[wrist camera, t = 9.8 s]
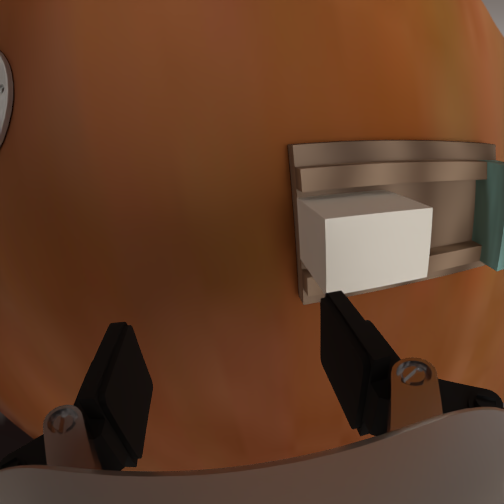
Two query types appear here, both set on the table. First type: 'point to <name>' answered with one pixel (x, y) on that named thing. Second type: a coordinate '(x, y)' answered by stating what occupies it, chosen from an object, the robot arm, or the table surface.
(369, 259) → the cream block
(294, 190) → the channel board
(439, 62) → the table surface
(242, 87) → the table surface
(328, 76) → the table surface
